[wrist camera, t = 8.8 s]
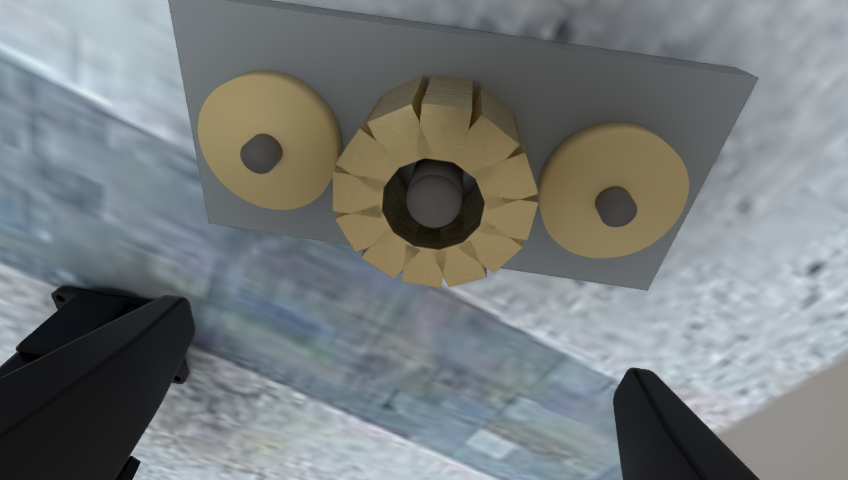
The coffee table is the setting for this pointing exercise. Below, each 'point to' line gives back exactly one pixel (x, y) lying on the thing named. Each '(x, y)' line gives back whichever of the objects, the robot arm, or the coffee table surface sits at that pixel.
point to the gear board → (462, 55)
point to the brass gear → (448, 141)
